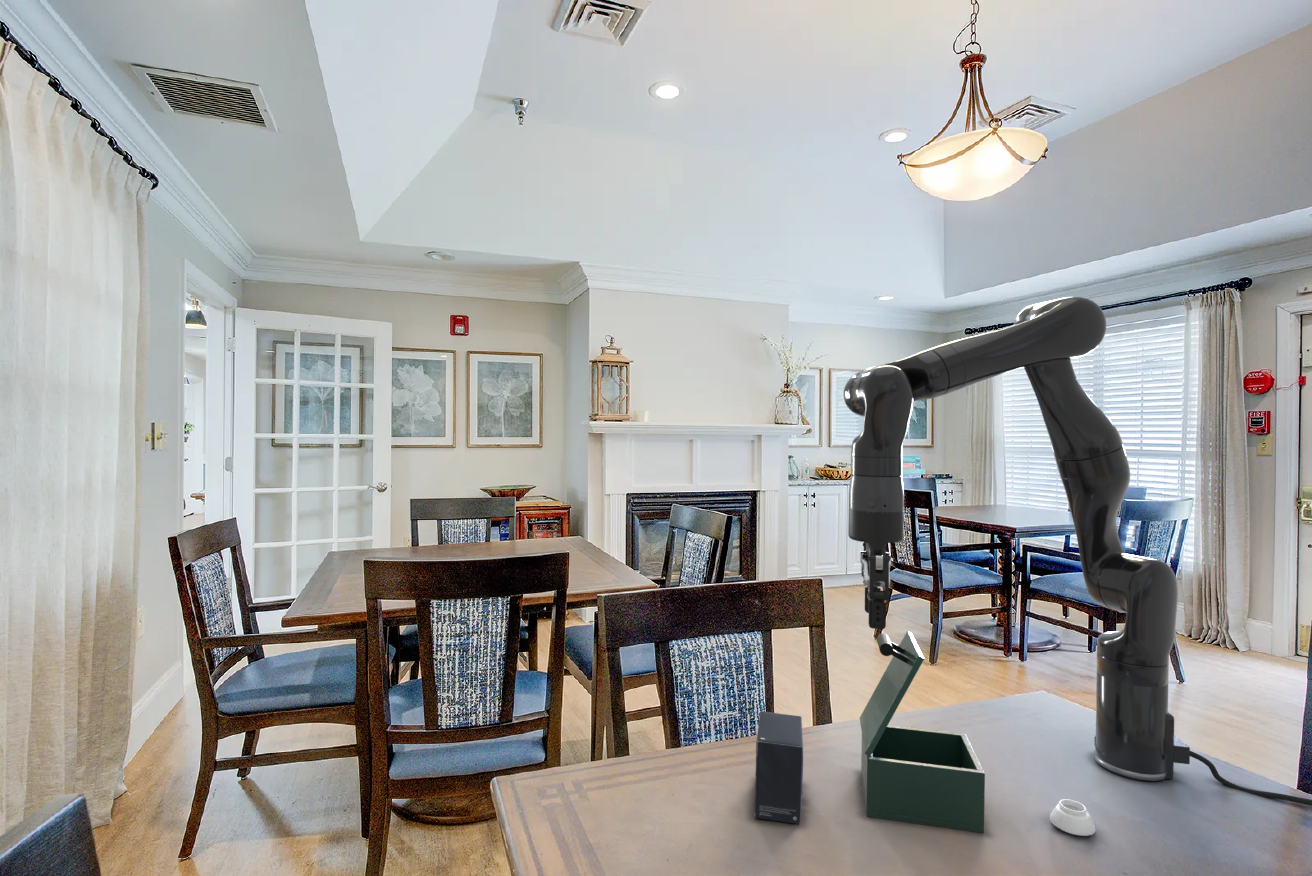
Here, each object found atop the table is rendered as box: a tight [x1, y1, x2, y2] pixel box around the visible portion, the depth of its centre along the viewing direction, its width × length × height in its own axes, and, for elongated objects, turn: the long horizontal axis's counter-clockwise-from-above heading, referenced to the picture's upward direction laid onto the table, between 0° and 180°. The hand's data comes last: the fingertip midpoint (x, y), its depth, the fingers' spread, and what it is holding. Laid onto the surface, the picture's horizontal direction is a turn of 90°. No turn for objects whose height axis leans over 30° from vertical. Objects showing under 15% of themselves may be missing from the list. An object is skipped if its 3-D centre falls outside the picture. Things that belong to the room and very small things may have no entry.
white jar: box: [1049, 798, 1096, 837], centre depth 88 cm, size 5×3×5 cm
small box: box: [753, 710, 804, 825], centre depth 94 cm, size 11×6×10 cm, turn 168°
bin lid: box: [859, 630, 925, 757], centre depth 96 cm, size 15×12×5 cm
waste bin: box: [860, 724, 986, 834], centre depth 94 cm, size 15×12×8 cm
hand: (874, 620), depth 96 cm, fingers open, 8 cm apart
